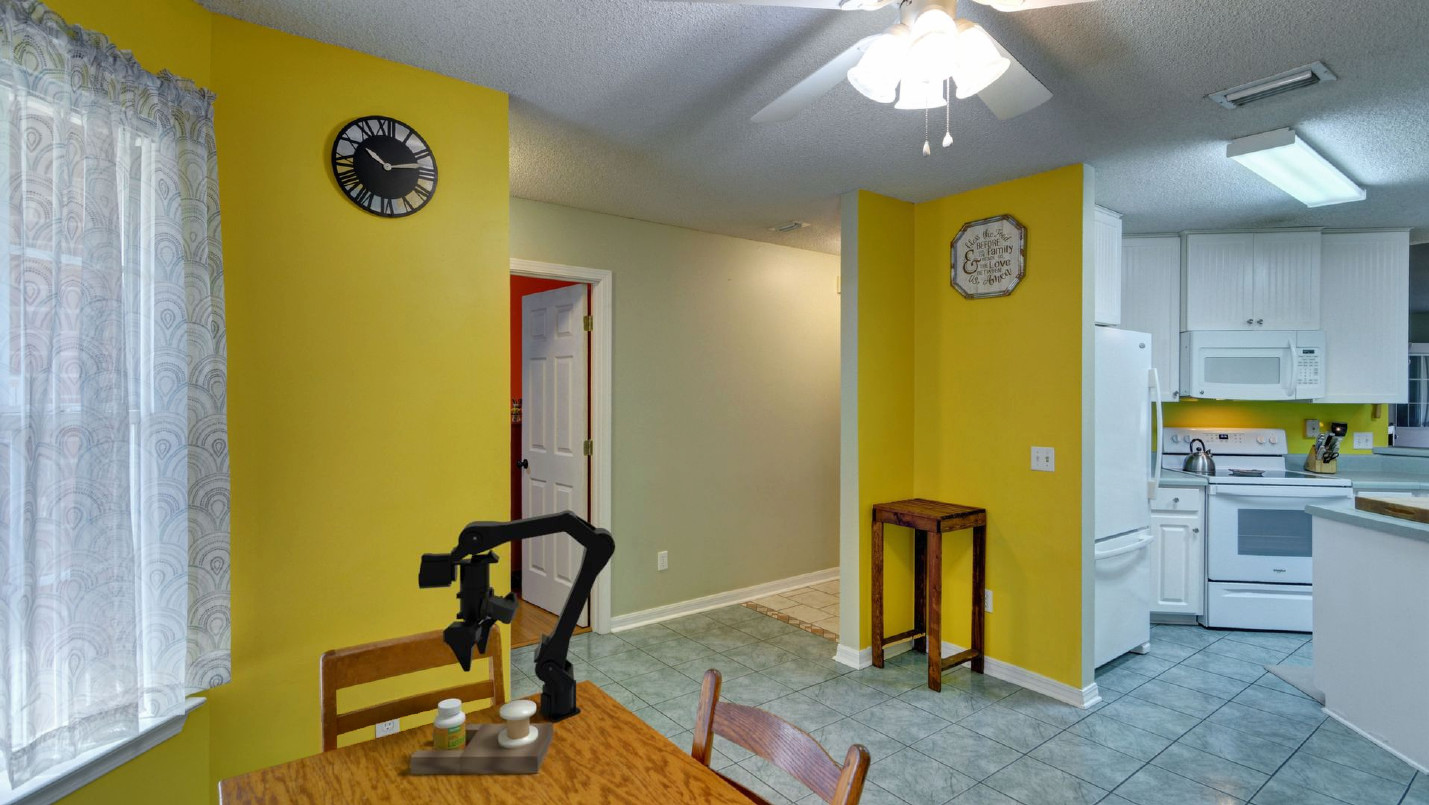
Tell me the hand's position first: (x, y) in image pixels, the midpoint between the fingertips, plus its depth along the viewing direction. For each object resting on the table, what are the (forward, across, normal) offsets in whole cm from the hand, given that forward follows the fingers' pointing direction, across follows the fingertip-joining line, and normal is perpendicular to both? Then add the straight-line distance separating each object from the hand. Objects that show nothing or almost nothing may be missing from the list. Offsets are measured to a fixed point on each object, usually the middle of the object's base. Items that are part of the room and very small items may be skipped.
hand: (475, 662), depth 138 cm
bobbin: (+9, -13, -12) cm, 20 cm away
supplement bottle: (+12, -13, 0) cm, 18 cm away
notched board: (+12, -13, -6) cm, 19 cm away
